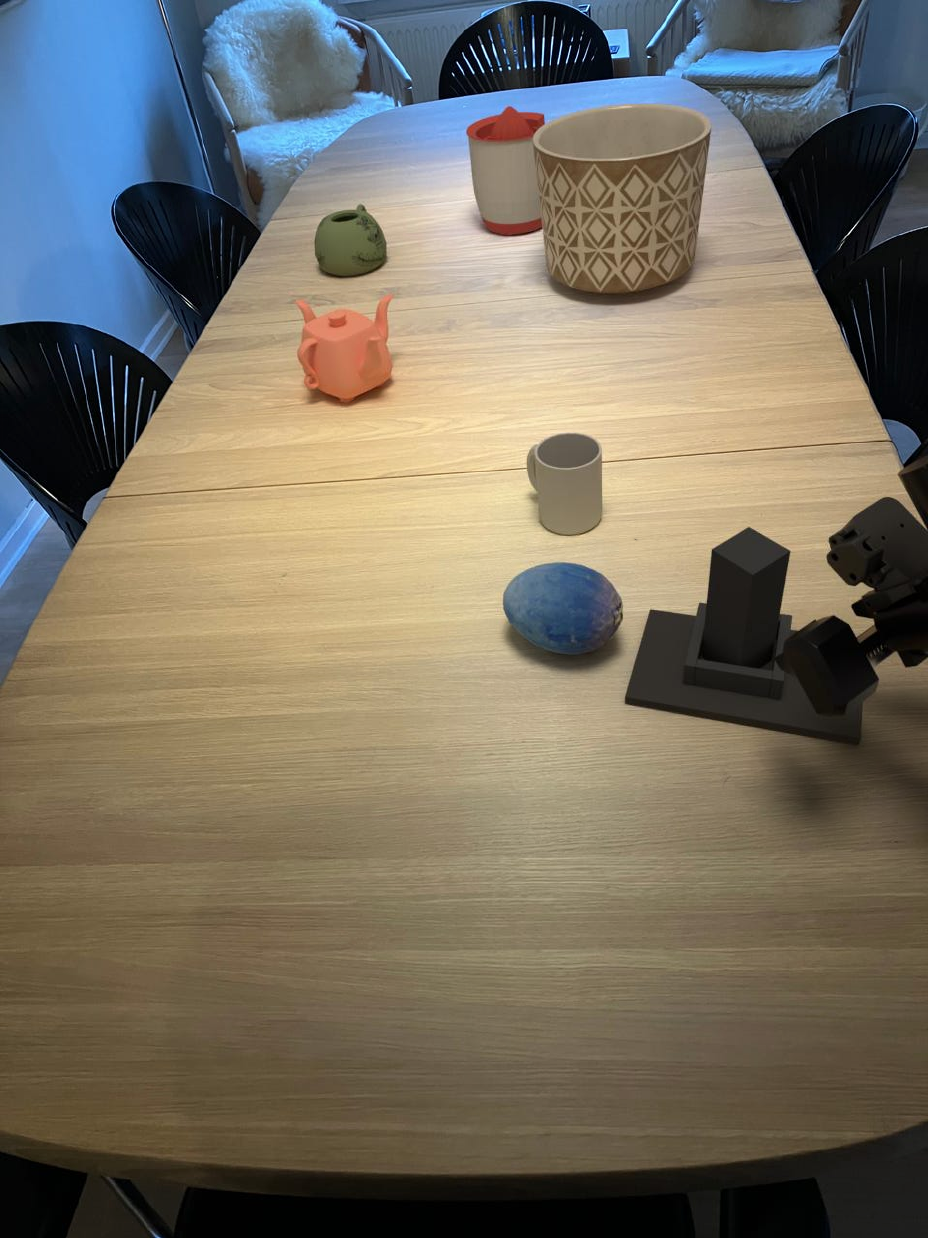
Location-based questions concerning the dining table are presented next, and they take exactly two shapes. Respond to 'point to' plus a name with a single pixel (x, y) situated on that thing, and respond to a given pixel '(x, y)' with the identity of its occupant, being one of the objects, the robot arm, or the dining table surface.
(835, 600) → the dining table surface
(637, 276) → the planter
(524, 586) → the blue oval fruit
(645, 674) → the base pad
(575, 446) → the cup
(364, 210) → the green round vase
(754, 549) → the pad block
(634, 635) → the dining table surface
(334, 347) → the teapot
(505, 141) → the citrus juicer
